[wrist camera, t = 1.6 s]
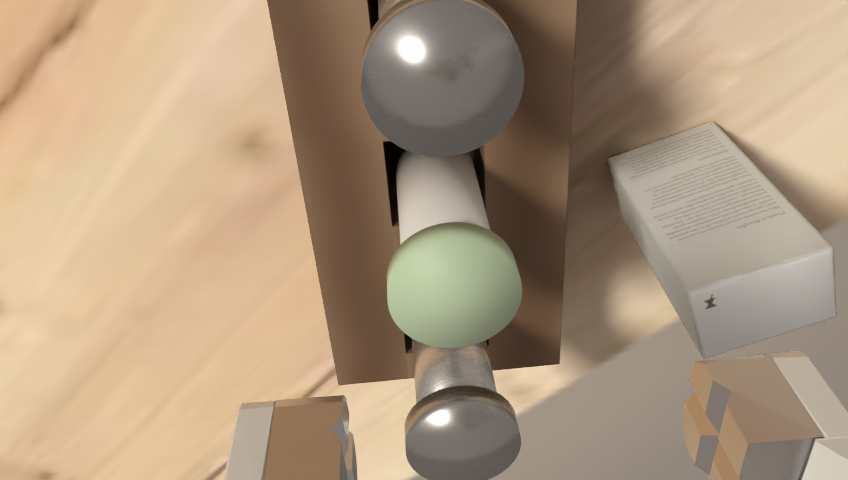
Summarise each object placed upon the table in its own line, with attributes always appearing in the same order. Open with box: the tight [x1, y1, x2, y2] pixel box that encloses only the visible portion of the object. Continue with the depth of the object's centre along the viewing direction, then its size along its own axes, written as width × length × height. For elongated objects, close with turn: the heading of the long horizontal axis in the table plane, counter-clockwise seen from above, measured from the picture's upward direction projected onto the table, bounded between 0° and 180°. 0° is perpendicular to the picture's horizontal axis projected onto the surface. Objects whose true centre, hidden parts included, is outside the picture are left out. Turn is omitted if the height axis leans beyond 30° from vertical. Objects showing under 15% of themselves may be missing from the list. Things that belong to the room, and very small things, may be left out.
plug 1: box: [361, 0, 524, 157], centre depth 25 cm, size 5×5×9 cm
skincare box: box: [608, 121, 836, 358], centre depth 35 cm, size 6×4×12 cm
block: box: [267, 0, 577, 385], centre depth 35 cm, size 12×24×6 cm, turn 4°
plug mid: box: [387, 150, 522, 348], centre depth 30 cm, size 5×5×9 cm
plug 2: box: [405, 339, 521, 480], centre depth 34 cm, size 5×5×9 cm
